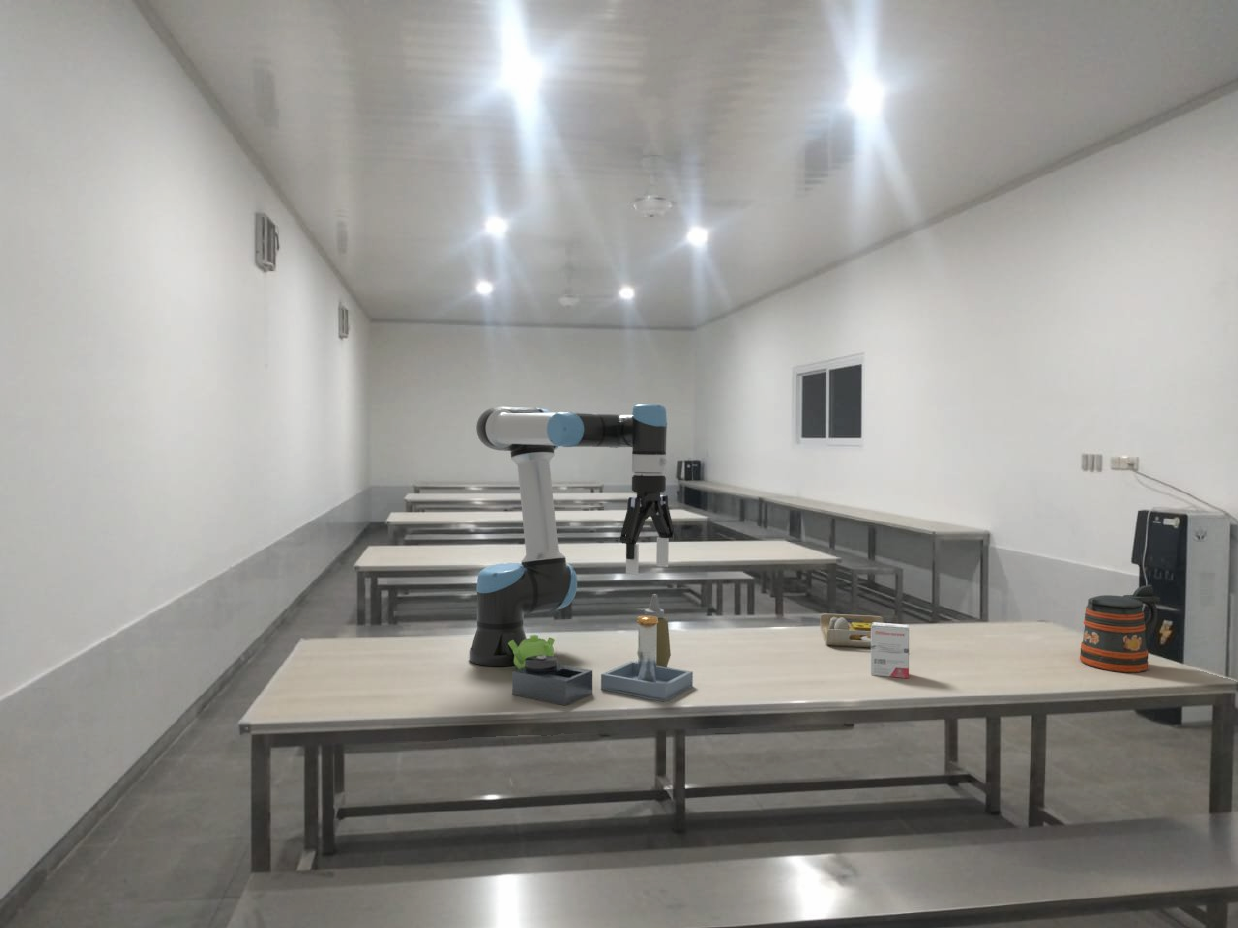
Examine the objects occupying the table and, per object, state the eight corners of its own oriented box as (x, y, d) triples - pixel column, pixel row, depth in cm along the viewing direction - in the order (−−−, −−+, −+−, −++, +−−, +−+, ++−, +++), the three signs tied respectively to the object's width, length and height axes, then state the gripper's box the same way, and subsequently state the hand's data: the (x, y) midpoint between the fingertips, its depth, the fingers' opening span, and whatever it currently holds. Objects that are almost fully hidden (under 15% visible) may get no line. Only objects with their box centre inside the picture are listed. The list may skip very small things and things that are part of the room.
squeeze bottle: (668, 674, 187) (668, 598, 187) (634, 672, 189) (635, 596, 188) (673, 665, 195) (673, 592, 195) (640, 663, 196) (641, 591, 196)
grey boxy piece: (512, 694, 171) (512, 658, 171) (540, 682, 180) (540, 648, 179) (565, 705, 164) (565, 667, 164) (592, 693, 172) (592, 657, 172)
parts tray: (600, 689, 175) (601, 674, 175) (631, 675, 186) (631, 661, 186) (665, 701, 167) (665, 685, 167) (692, 686, 178) (692, 671, 178)
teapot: (560, 676, 185) (561, 640, 185) (511, 679, 182) (511, 642, 182) (554, 663, 196) (554, 629, 196) (507, 666, 193) (507, 631, 193)
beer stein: (1125, 655, 209) (1127, 579, 209) (1177, 670, 195) (1179, 588, 194) (1066, 659, 204) (1067, 581, 204) (1115, 674, 190) (1116, 591, 190)
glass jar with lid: (632, 685, 176) (633, 618, 176) (643, 680, 180) (643, 614, 180) (651, 689, 173) (651, 620, 173) (661, 684, 177) (661, 616, 177)
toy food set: (896, 652, 211) (897, 624, 211) (825, 649, 214) (826, 620, 214) (883, 631, 236) (883, 606, 235) (820, 628, 239) (820, 603, 239)
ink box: (908, 673, 190) (909, 623, 190) (909, 678, 185) (909, 627, 185) (870, 669, 193) (871, 620, 193) (870, 675, 188) (870, 624, 188)
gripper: (635, 476, 163) (633, 579, 164) (689, 473, 184) (688, 564, 185) (604, 475, 167) (603, 575, 168) (660, 472, 188) (659, 562, 189)
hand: (647, 570), depth 176 cm, fingers open, 13 cm apart
